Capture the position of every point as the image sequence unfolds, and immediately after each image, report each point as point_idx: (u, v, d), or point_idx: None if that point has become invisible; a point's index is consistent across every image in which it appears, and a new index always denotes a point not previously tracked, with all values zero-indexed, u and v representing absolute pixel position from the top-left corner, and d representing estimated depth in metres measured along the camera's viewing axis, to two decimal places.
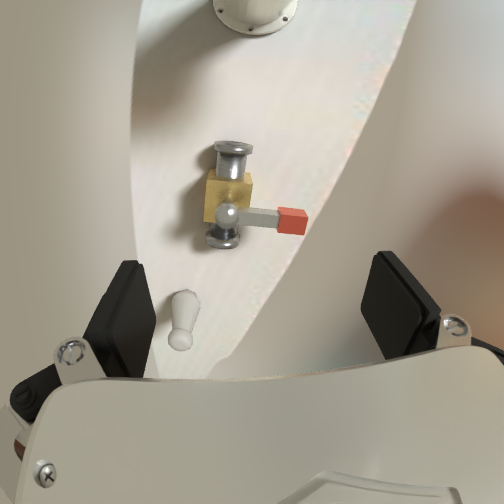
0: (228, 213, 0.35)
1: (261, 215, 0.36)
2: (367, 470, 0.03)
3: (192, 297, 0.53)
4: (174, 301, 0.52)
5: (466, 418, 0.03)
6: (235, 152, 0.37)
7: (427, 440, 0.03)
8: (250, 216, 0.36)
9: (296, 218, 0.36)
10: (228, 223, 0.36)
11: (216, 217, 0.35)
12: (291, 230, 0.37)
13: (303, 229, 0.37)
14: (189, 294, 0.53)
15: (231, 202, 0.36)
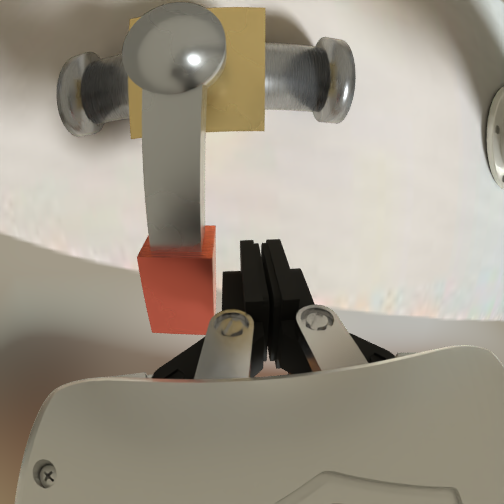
0: (193, 48, 0.06)
1: (192, 183, 0.08)
2: (367, 470, 0.03)
3: None
4: None
5: (466, 418, 0.03)
6: (342, 81, 0.12)
7: (427, 440, 0.03)
8: (183, 140, 0.08)
9: (204, 306, 0.10)
10: (146, 55, 0.06)
11: (173, 8, 0.05)
12: (158, 299, 0.10)
13: (170, 329, 0.11)
14: None
15: (223, 66, 0.08)
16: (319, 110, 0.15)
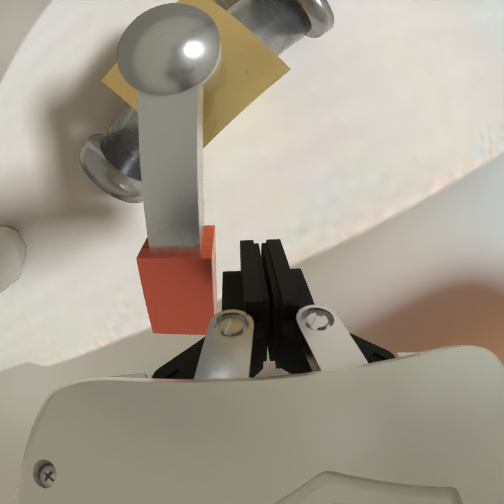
0: (188, 49, 0.06)
1: (189, 184, 0.08)
2: (367, 471, 0.03)
3: (12, 251, 0.18)
4: None
5: (466, 418, 0.03)
6: None
7: (427, 440, 0.03)
8: (179, 141, 0.08)
9: (204, 306, 0.10)
10: (141, 57, 0.06)
11: (167, 9, 0.05)
12: (158, 300, 0.10)
13: (171, 329, 0.11)
14: (10, 242, 0.18)
15: (219, 66, 0.08)
16: (310, 28, 0.12)
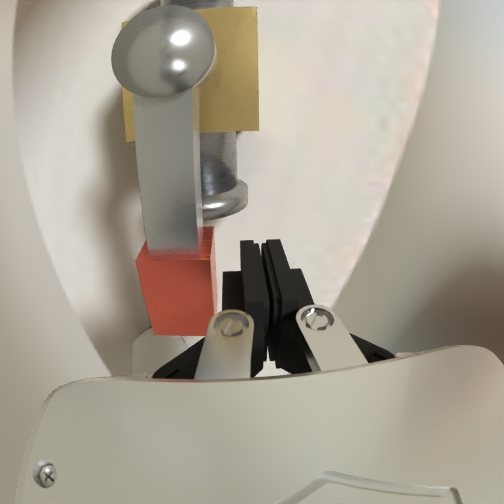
0: (181, 50, 0.06)
1: (187, 185, 0.08)
2: (367, 471, 0.03)
3: (167, 342, 0.24)
4: (133, 353, 0.23)
5: (466, 418, 0.03)
6: None
7: (427, 440, 0.03)
8: (175, 143, 0.08)
9: (204, 307, 0.10)
10: (135, 60, 0.06)
11: (159, 11, 0.05)
12: (158, 301, 0.10)
13: (172, 331, 0.11)
14: (161, 336, 0.24)
15: (214, 66, 0.08)
16: None
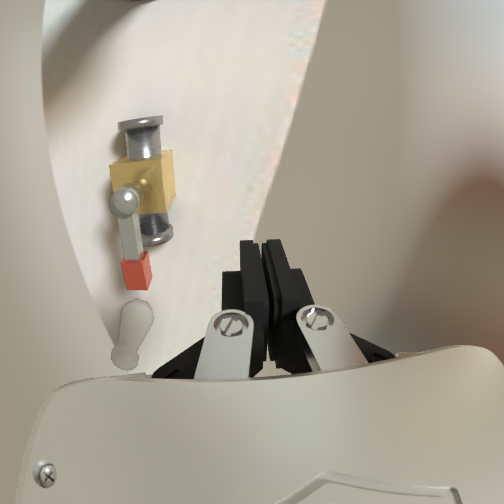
0: (127, 205, 0.26)
1: (134, 241, 0.28)
2: (367, 470, 0.03)
3: (141, 307, 0.43)
4: (122, 313, 0.43)
5: (466, 418, 0.03)
6: (135, 126, 0.27)
7: (427, 440, 0.03)
8: (130, 230, 0.27)
9: (142, 279, 0.30)
10: (115, 207, 0.26)
11: (119, 192, 0.25)
12: (128, 277, 0.30)
13: (133, 288, 0.30)
14: (137, 304, 0.43)
15: (140, 201, 0.28)
16: (156, 125, 0.30)
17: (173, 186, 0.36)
